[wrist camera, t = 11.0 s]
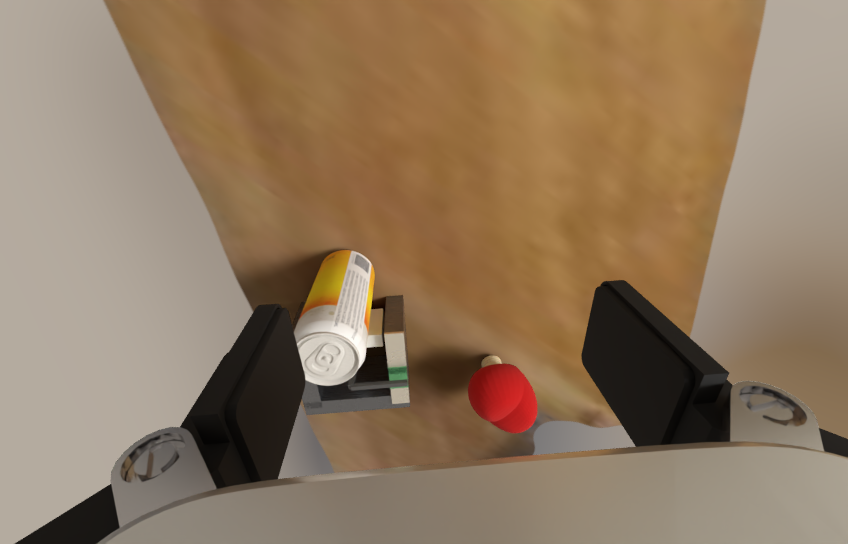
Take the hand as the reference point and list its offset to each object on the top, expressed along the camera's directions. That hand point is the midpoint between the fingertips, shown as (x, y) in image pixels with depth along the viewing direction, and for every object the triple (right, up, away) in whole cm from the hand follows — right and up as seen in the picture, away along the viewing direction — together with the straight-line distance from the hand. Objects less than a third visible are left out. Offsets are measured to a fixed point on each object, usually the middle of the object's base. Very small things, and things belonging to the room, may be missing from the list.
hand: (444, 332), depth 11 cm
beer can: (-9, +2, +31) cm, 32 cm away
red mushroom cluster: (+8, -10, +38) cm, 40 cm away
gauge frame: (-9, -6, +35) cm, 36 cm away
